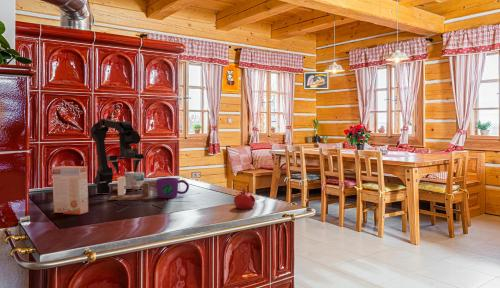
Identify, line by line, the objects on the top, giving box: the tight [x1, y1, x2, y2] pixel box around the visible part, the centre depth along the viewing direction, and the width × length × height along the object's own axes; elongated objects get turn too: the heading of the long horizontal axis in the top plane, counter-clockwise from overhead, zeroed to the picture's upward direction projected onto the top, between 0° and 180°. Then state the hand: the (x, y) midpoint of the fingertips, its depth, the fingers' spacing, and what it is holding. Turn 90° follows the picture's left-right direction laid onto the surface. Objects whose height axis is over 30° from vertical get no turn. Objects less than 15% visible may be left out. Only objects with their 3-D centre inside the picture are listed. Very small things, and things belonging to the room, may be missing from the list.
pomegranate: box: [233, 187, 256, 210], centre depth 180 cm, size 10×10×9 cm
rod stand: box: [108, 181, 151, 201], centre depth 211 cm, size 20×10×8 cm, turn 100°
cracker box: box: [51, 165, 89, 215], centre depth 175 cm, size 14×6×21 cm, turn 74°
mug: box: [156, 177, 190, 200], centre depth 214 cm, size 17×11×10 cm, turn 104°
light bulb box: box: [124, 171, 145, 189], centre depth 243 cm, size 11×7×11 cm, turn 58°
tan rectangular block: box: [117, 176, 127, 196], centre depth 210 cm, size 3×7×9 cm, turn 10°
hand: (126, 173), depth 212 cm, fingers open, 9 cm apart
